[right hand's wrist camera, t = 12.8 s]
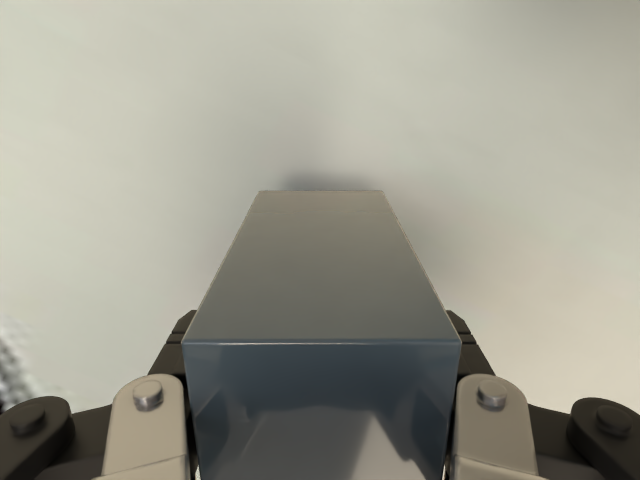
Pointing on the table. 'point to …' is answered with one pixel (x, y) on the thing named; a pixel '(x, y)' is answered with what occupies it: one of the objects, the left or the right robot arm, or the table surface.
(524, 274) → the table surface
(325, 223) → the block
